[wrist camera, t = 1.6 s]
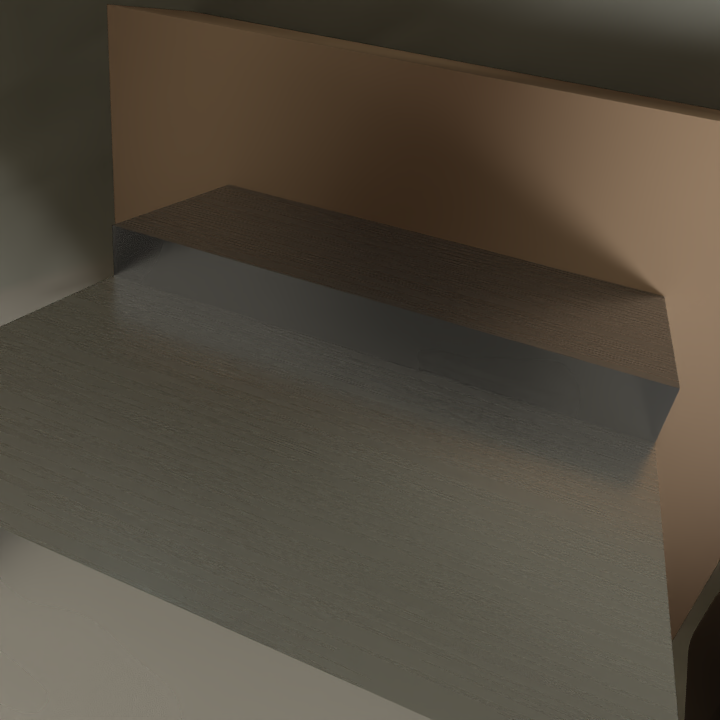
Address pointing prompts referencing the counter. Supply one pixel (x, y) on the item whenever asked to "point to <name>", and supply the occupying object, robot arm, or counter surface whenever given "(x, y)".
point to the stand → (452, 186)
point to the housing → (332, 480)
